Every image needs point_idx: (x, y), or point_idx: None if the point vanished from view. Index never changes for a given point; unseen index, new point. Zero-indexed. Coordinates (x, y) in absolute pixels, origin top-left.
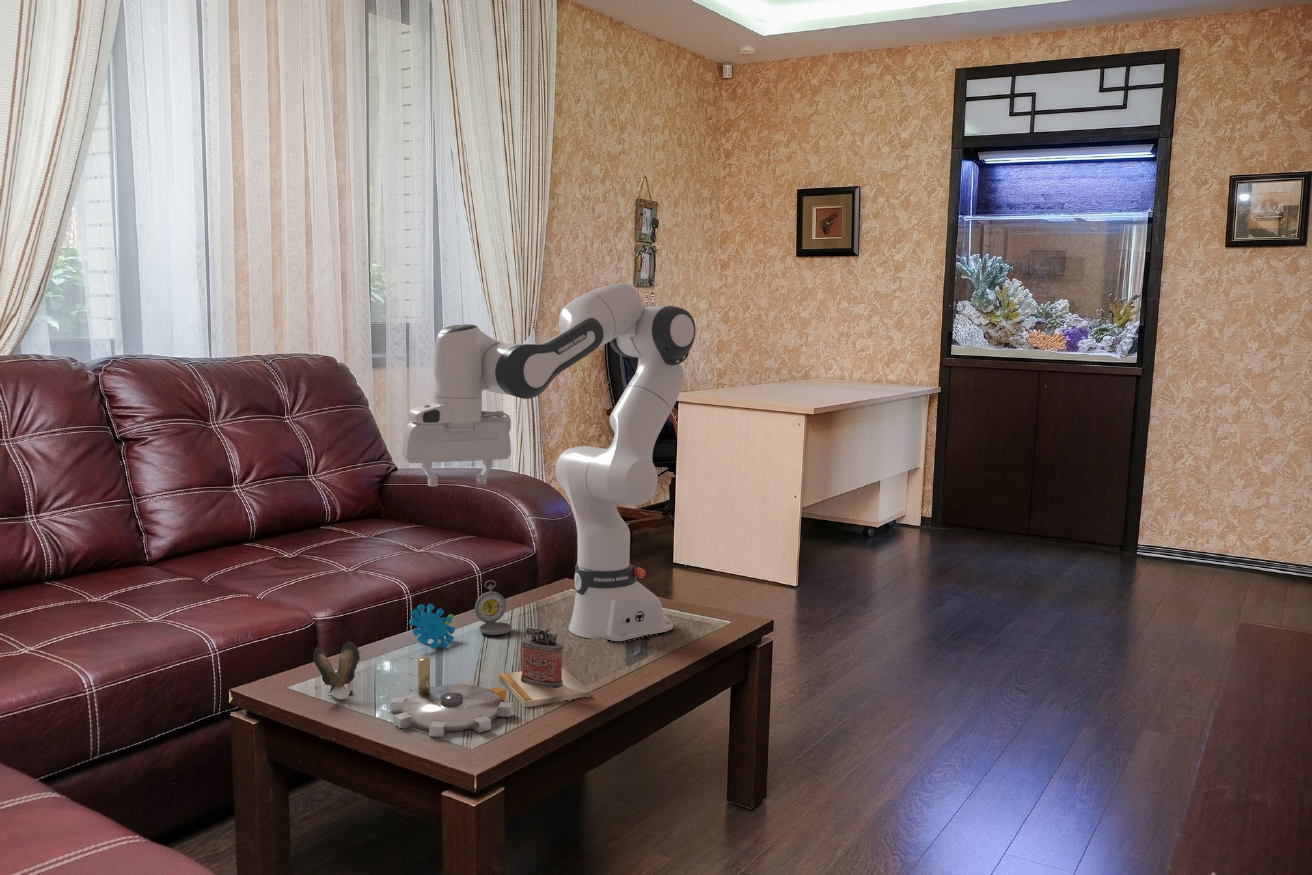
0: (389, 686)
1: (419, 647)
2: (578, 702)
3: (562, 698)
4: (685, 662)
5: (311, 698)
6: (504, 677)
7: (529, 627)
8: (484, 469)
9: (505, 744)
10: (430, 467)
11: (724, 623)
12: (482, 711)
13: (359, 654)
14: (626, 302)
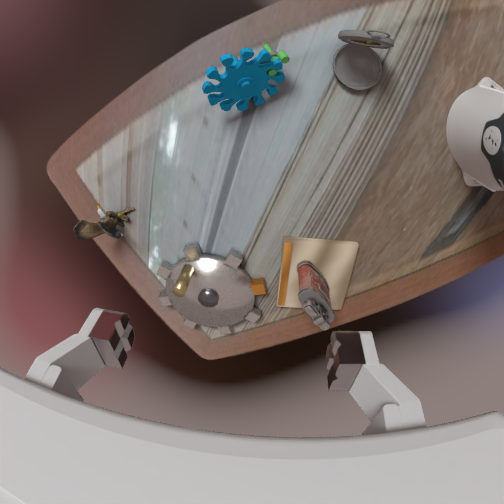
0: (165, 205)
1: None
2: None
3: None
4: (461, 273)
5: (96, 206)
6: (284, 253)
7: (308, 309)
8: (371, 396)
9: (235, 343)
10: (77, 399)
11: None
12: (229, 320)
13: (117, 237)
14: None
